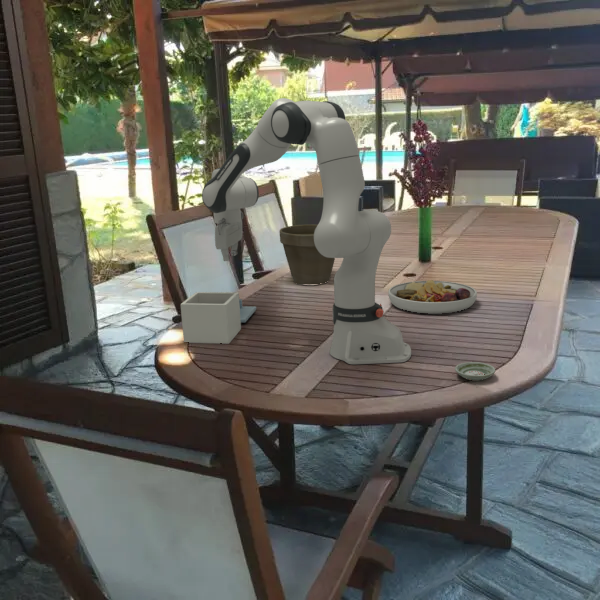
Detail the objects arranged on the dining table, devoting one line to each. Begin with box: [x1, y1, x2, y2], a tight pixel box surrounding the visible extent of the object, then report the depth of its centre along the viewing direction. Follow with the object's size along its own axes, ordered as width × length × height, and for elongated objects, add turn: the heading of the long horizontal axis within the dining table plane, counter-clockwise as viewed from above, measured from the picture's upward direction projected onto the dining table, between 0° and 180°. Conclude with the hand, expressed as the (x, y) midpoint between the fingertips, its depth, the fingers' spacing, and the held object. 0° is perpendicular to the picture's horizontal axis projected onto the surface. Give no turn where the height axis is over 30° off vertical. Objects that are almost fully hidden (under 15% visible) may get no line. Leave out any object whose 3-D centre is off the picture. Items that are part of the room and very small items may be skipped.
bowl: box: [387, 279, 478, 315], centre depth 222 cm, size 30×30×8 cm
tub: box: [180, 291, 242, 345], centre depth 196 cm, size 14×14×12 cm
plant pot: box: [278, 224, 336, 285], centre depth 258 cm, size 25×25×22 cm
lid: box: [239, 298, 257, 323], centre depth 215 cm, size 15×15×5 cm
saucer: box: [454, 361, 496, 381], centre depth 159 cm, size 10×10×2 cm
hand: (230, 258), depth 215 cm, fingers open, 8 cm apart
